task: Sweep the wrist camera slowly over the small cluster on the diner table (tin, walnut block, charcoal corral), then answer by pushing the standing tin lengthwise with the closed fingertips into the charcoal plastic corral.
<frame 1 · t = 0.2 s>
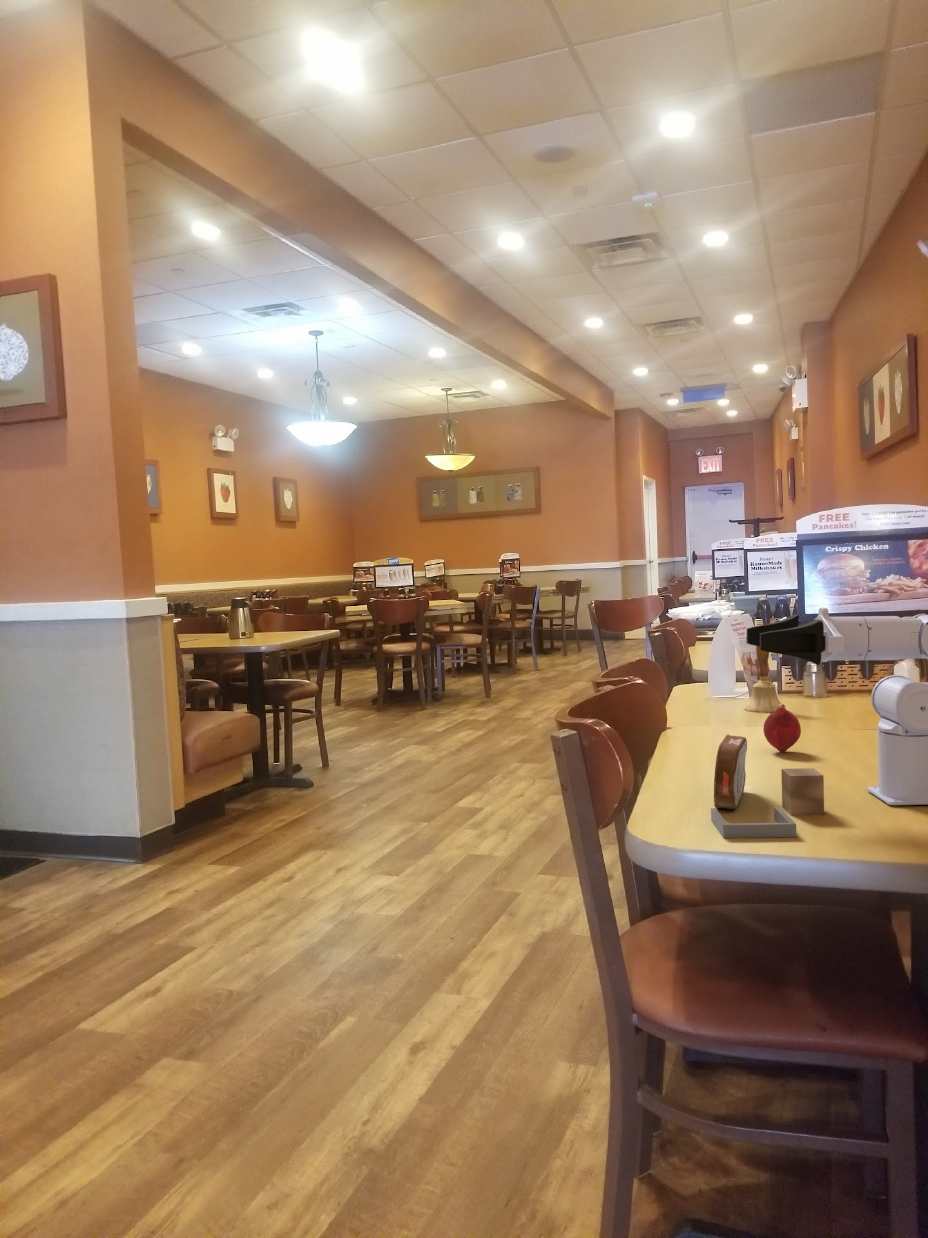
hand: (753, 639, 116), 21 cm above the table, tool horizontal, fingers open, 7 cm apart
walnut block: (802, 811, 112), on the table
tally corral: (751, 827, 106), on the table
hand bell: (764, 710, 188), on the table
onion: (782, 753, 146), on the table
tin: (732, 803, 118), on the table
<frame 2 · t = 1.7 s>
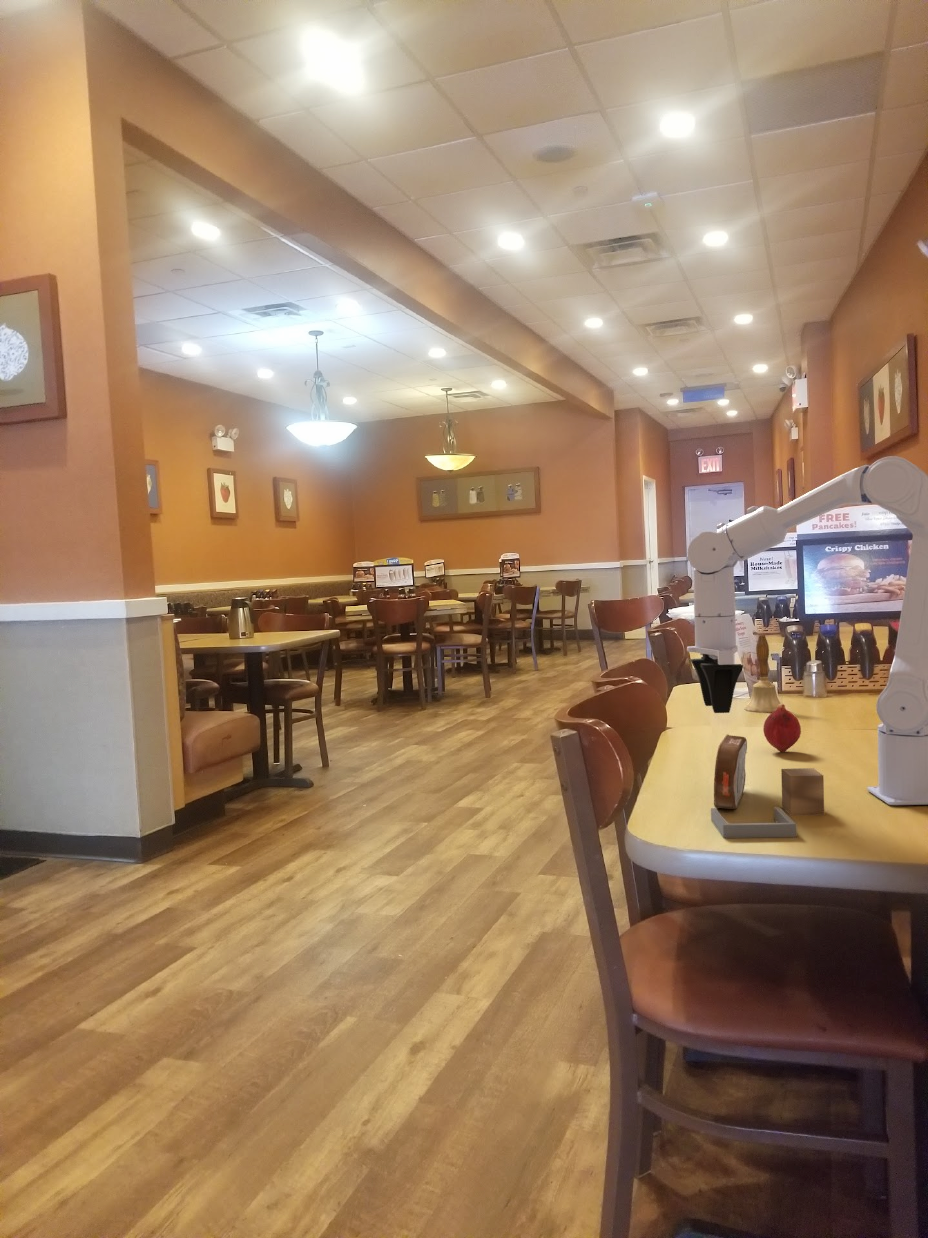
hand: (716, 709, 129), 10 cm above the table, tool pointing down, fingers open, 6 cm apart
nothing on the table moved.
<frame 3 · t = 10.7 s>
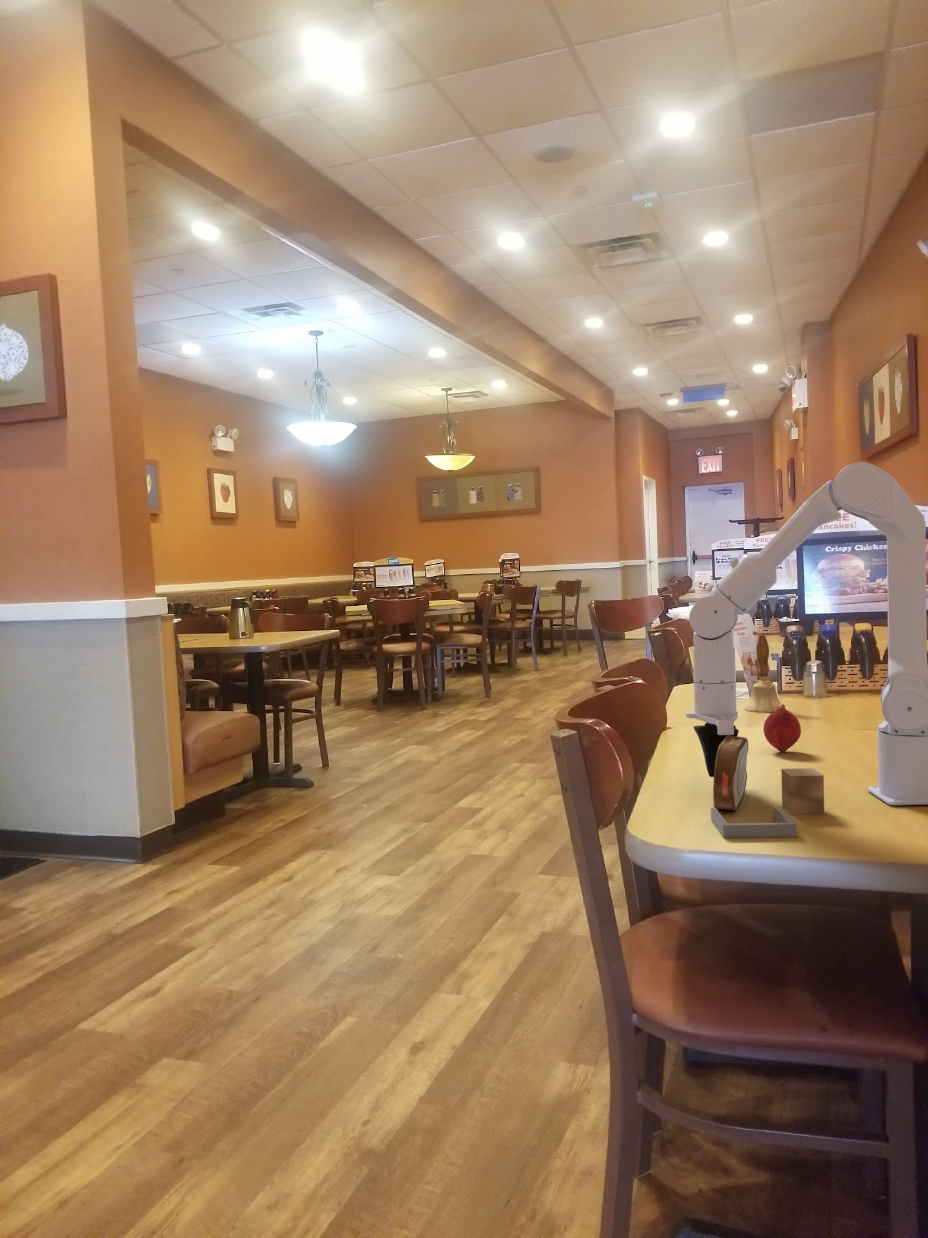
hand: (716, 776, 126), 1 cm above the table, tool pointing down, fingers closed
tin: (732, 804, 117), on the table, touching gripper
everything else where it was.
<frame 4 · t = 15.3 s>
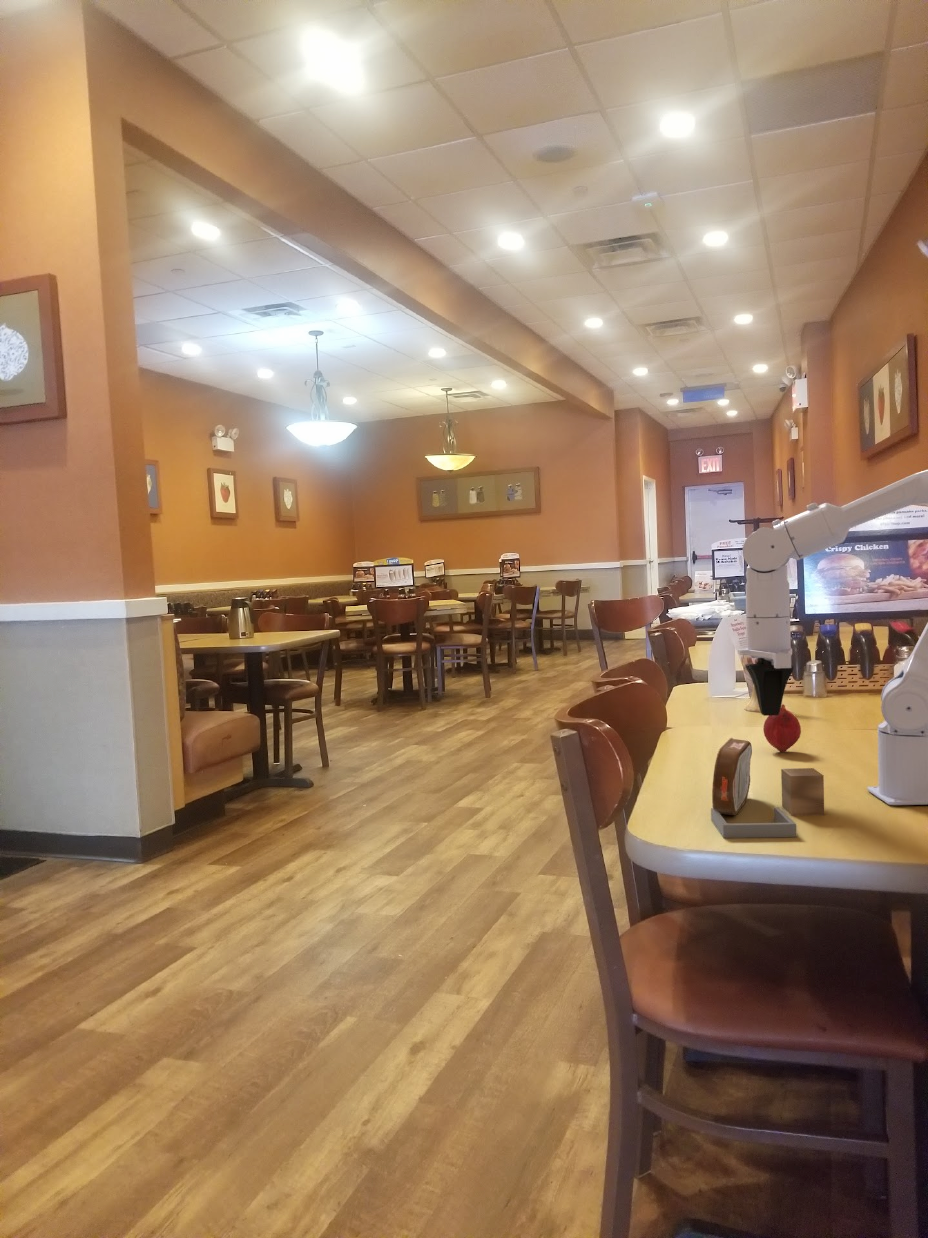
hand: (770, 714, 122), 10 cm above the table, tool pointing down, fingers closed
tin: (733, 808, 114), on the table, touching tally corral
everything else where it was.
at the end: tin 2.4 cm from the target spot, on the table; tin tilted 0°; the gripper is holding nothing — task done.
